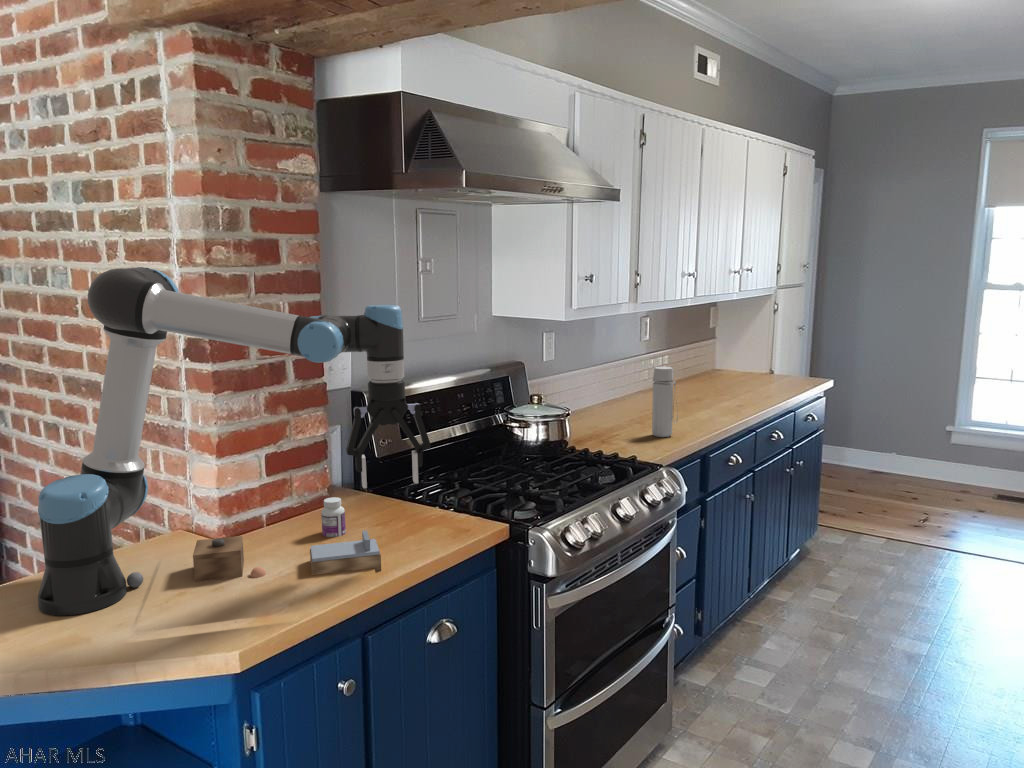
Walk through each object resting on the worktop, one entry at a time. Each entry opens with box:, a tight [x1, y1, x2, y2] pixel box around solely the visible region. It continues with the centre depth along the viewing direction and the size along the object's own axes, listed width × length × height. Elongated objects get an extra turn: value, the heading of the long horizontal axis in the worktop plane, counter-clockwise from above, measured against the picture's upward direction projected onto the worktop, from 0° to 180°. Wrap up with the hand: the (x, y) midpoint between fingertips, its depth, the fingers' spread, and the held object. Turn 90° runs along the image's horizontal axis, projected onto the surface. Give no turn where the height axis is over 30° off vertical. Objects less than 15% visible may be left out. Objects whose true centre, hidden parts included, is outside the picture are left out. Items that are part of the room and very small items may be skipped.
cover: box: [192, 535, 245, 583], centre depth 163 cm, size 9×9×8 cm
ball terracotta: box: [250, 566, 267, 578], centre depth 161 cm, size 3×3×3 cm
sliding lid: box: [310, 530, 381, 562], centre depth 166 cm, size 14×8×3 cm, turn 106°
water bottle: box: [651, 366, 679, 438], centre depth 287 cm, size 9×8×25 cm
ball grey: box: [126, 571, 144, 588], centre depth 159 cm, size 3×3×3 cm
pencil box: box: [309, 548, 382, 576], centre depth 166 cm, size 14×8×4 cm, turn 106°
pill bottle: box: [320, 496, 347, 538], centre depth 185 cm, size 5×5×10 cm
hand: (390, 484), depth 167 cm, fingers open, 10 cm apart
